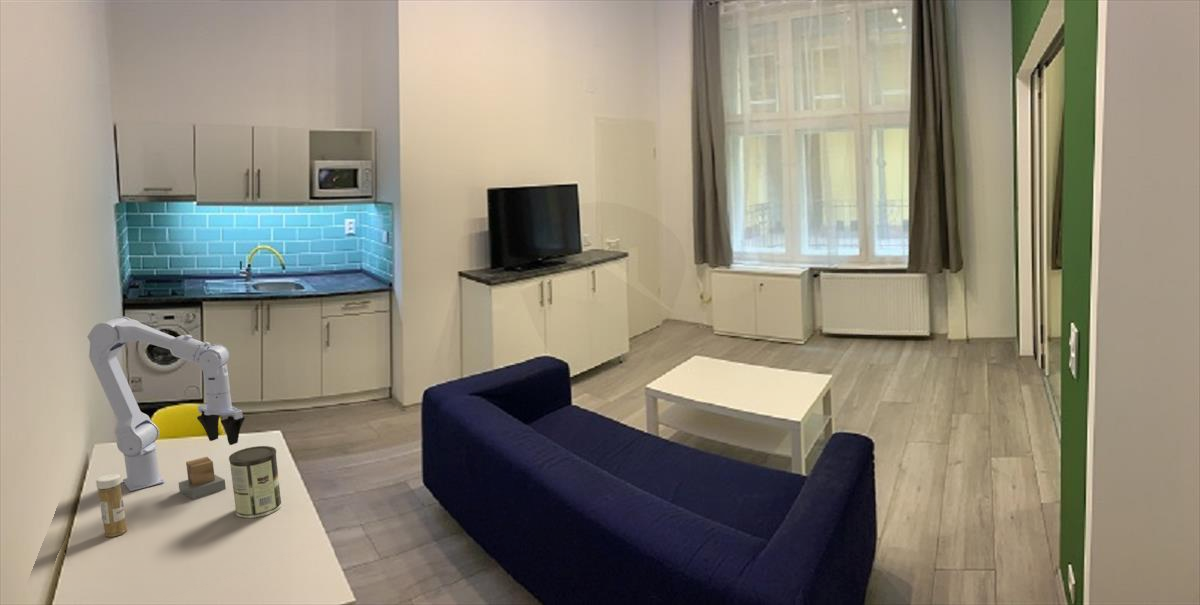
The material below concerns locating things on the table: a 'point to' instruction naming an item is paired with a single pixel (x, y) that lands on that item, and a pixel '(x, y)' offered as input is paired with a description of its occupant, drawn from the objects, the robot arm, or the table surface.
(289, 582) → the table surface
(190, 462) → the walnut cube
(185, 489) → the slate slab
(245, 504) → the coffee can
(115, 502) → the sprinkles bottle
